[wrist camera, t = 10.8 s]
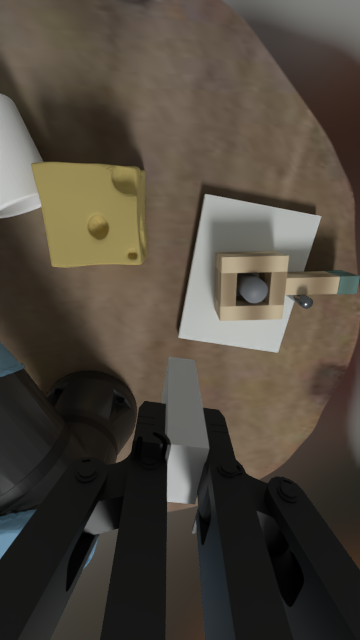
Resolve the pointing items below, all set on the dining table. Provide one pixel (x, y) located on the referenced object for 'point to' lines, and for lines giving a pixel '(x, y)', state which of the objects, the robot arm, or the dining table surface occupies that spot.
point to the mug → (16, 163)
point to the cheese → (92, 213)
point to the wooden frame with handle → (270, 284)
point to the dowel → (301, 300)
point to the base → (241, 238)
